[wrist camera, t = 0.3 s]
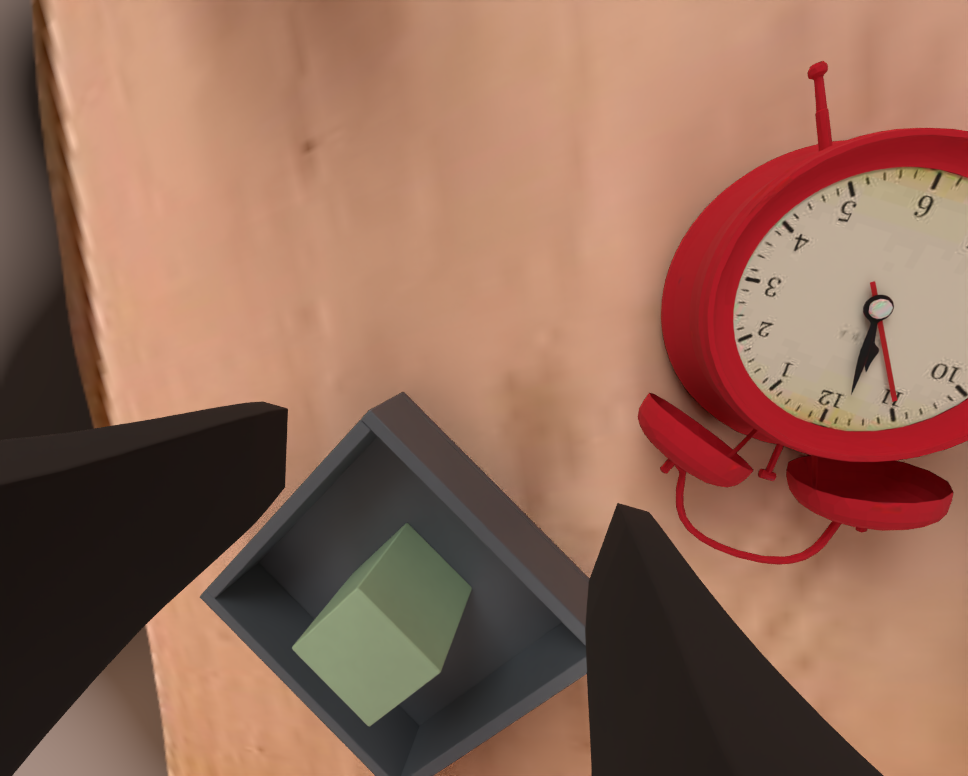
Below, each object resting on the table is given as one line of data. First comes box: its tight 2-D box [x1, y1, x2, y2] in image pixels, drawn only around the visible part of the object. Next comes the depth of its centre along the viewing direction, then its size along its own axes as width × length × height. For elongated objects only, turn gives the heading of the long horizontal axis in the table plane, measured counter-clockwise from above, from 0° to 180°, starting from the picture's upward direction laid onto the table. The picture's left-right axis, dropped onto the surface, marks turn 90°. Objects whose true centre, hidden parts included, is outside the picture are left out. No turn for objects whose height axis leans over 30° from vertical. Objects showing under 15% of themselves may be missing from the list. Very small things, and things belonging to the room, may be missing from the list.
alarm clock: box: [638, 61, 968, 564], centre depth 14 cm, size 10×6×15 cm
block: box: [292, 523, 472, 726], centre depth 19 cm, size 4×4×5 cm
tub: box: [200, 392, 590, 776], centre depth 21 cm, size 13×13×3 cm
